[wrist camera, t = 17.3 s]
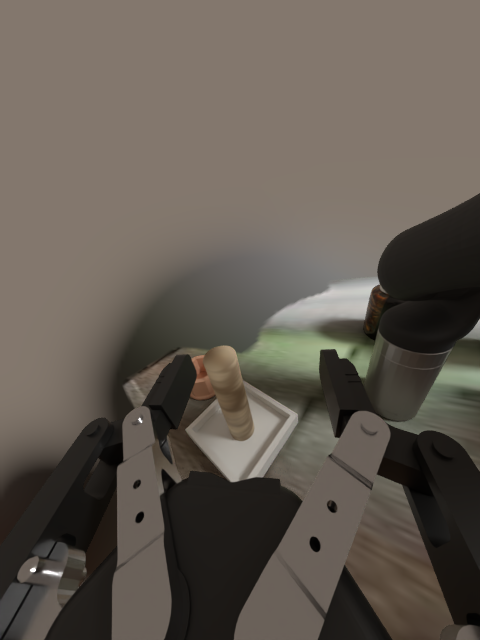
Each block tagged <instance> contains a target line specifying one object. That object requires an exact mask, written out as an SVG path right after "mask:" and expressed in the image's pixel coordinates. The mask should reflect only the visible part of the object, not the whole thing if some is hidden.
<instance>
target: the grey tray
mask: <svg viewBox="0 0 480 640" xmlns="http://www.w3.org/2000/svg"><path fill="white" fill-rule="evenodd" d="M243 383H244V387H245V391H246V395H247V399H248V403H249V407H250V411H251V415H252V419H253V423H254V432H253V434H252V436H251V437H250V438H249V439H247V440H245V441H237V440H235V439H234V438H233V437H232V435H231V433H230V431H229V428H228V425H227V423H226V420H225V418H224V415H223V413H222V410H221V408H220V405H219V403H218V400H217V399H216V400H215V401H214V402H213V403H212V404H211V405H210V406H209V407H208V408H207V409H206V410H205V411H204V412H203V413H202V414H201V415H200V416H199V417H198V418H197V419H196V420H195V421H194V422H193V423H191V424H190V425H189V426H188V427H187V428H186V429H185V431H186V432H187V434H188V435H189V437H190V438H191V439H192V440H193V442H194V443H195V444H196V445H197V446H198V447H199V448H200V450H201V451H202V452H203V453H204V454H205V455H206V456H207V458H208V459H209V460H210V461H211V462H212V463H213V464H214V466H215V467H216V468H217V469H218V470H219V471H220V472H221V474H222V475H223V476H224V477H225V478H226V479H227V480H228V481H230V482H236V481H241V480H245V479H249V478H254V477H262V478H263V476H264V475H265V473H266V472H267V470H268V468H269V467H270V465H271V464H272V462H273V461H274V459H275V457H276V456H277V454H278V453H279V451H280V450H281V448H282V447H283V445H284V443H285V442H286V440H287V439H288V437H289V436H290V434H291V433H292V431H293V429H294V428H295V426H296V425H297V423H298V414H297V413H295V412H293V411H292V410H290V409H289V408H287V407H285V406H284V405H282V404H281V403H279V402H277V401H276V400H274V399H273V398H271V397H269V396H268V395H266V394H265V393H263V392H261V391H260V390H258V389H257V388H255V387H253V386H252V385H250V384H249V383H247V382H245V381H244V380H243Z"/></svg>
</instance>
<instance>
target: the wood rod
mask: <svg viewBox="0 0 480 640" xmlns="http://www.w3.org/2000/svg"><path fill="white" fill-rule="evenodd" d="M203 364H204V367H205V369H206V372H207V374H208V377H209V380H210V382H211V385H212V387H213V390H214V392H215V395H216V397H217V400H218V403H219V405H220V408H221V410H222V413H223V415H224V418H225V420H226V423H227V425H228V428H229V431H230V433H231V435H232V437H233V438H234V439H235V440H237V441H245V440H247V439H249V438H250V437H251V436H252V434H253V432H254V423H253V419H252V415H251V411H250V407H249V403H248V399H247V395H246V391H245V387H244V383H243V379H242V375H241V371H240V367H239V363H238V360H237V356H236V352H235V350H234V349H233V348H232V347H229V346H218V347H215V348H212V349H211V350H209V351H208V352H207V353H206V354H205V356H204V358H203Z"/></svg>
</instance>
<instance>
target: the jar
mask: <svg viewBox="0 0 480 640" xmlns="http://www.w3.org/2000/svg"><path fill="white" fill-rule="evenodd" d="M405 302H407V301H402V300H399V299H395V298H393V297H392V296H390V295H389V294H387V293H386V292H385V291H384V289H383V288H382V287H381V285H377V286H375V287H374V288H373V289H372V292H371V295H370V298H369V303H368V307H367V312H366V317H365V322H364V328H363V329H364V332H365V333H366V335H367V336H369V337H370V338H372V339H373V340H376V336H377V332H378V328H379V324H380V320H381V317H382V315H383V314H384V313H385V312H386V311H387V310H388V309H390V308H392V307H394V306H397V305H399V304H402V303H405Z"/></svg>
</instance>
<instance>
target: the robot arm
mask: <svg viewBox="0 0 480 640" xmlns="http://www.w3.org/2000/svg"><path fill="white" fill-rule="evenodd" d="M377 273H378V279H379V282H380V285H381V287H382V288H383V289H384V291H385V292H386V293H387V294H389V295H390V296H392V297H393V298H395V299H399V300H402V301H407V302H405V303H402V304H399V305H397V306H394V307H392V308H390V309H388V310H387V311H386V312H385V313H384V314H383V315H382V317H381V320H380V324H379V328H378V332H377V336H376V340H375V344H374V348H373V352H372V356H371V359H370V363H369V367H368V371H367V375H366V378H365V382H364V386H363V384H362V383H361V379H360V377H359V376H358V373H357V371H356V368H355V366H354V365H353V364H352V363H351V362H350V361H349V360H348V359H347V358H346V359H339V357H338V354H337V352H336V350H335V349H328V350H321V351H320V365H319V373H320V379H321V383H322V387H323V391H324V396H325V400H326V404H327V408H328V412H329V416H330V420H331V424H332V428H333V432H334V436H335V437H337V438H340V439H339V440H338V442H337V444H336V446H335V448H334V450H333V452H332V453H331V454H330V455H329V456H328V457H327V458H326V460H325V462H324V463H323V465H322V467H321V469H320V471H319V473H318V474H317V476H316V478H315V480H314V482H313V484H312V485H311V487H310V489H309V491H308V493H307V495H306V497H305V498H304V500H303V501H302V500H301V499H300V498H299V497H298V496H297V495H296V494H294V493H293V492H292V491H290V490H289V489H287V488H285V487H283V486H281V484H280V479H273V478H262V477H254V478H249V479H245V480H241V481H236V482H230V481H228V480H225V479H223V478H221V477H219V476H217V475H215V474H212V473H208V472H197V471H190V474H189V478H187V479H184V480H182V479H181V476H180V474H179V472H178V470H177V467H176V464H175V460H174V455H173V451H172V447H171V443H170V439H169V436H168V432H169V430H170V429H178V426H179V423H180V421H181V418H182V415H183V413H184V410H185V408H186V405H187V402H188V400H189V397H190V395H191V392H192V389H193V387H194V384H195V381H196V378H197V372H196V369H195V366H194V364H193V362H192V359H191V357H190V355H188V354H187V355H176V356H175V358H174V360H173V362H172V363H169V364H168V365H167V366H166V367H165V368H164V369H163V370H162V372H161V373H160V375H159V378H158V379H157V380H156V383H155V384H154V386H153V387H152V389H151V391H150V392H149V394H148V396H147V398H146V399H145V401H144V403H143V404H142V406H141V407H138V408H135V409H134V410H132V411H131V412H130V413H129V414H128V415H127V416H126V418H124V419H121V420H118V421H114V422H111V423H110V422H109V421H108V420H107V419H106V418H98V419H96V420H94V421H92V422H91V423H89V424H88V425H87V426H86V427H85V428H84V429H83V430H82V432H81V433H80V435H79V436H78V437H77V439H76V440H75V442H74V443H73V444H72V446H71V447H70V449H69V450H68V451H67V453H66V454H65V456H64V457H63V459H62V460H61V461H60V463H59V464H58V466H57V467H56V469H55V470H54V471H53V473H52V474H51V475H50V477H49V478H48V480H47V481H46V482H45V484H44V485H43V487H42V488H41V489H40V491H39V492H38V494H37V495H36V497H35V498H34V499H33V501H32V502H31V504H30V505H29V506H28V508H27V509H26V511H25V512H24V513H23V515H22V516H21V518H20V519H19V521H18V522H17V523H16V525H15V526H14V528H13V529H12V530H11V532H10V533H9V534H8V536H7V537H6V539H5V540H4V541H3V543H2V544H1V546H0V640H392V638H391V637H390V635H389V634H388V632H387V630H386V629H385V627H384V626H383V624H382V623H381V621H380V619H379V618H378V616H377V615H376V613H375V612H374V610H373V608H372V607H371V605H370V604H369V602H368V601H367V599H366V598H365V596H364V594H363V593H362V591H361V590H360V588H359V587H358V585H357V583H356V582H355V580H354V579H353V577H352V576H351V574H350V572H349V571H348V569H347V568H346V566H345V565H344V564H345V561H346V559H347V556H348V553H349V551H350V548H351V545H352V542H353V540H354V537H355V534H356V531H357V529H358V526H359V523H360V521H361V518H362V515H363V512H364V510H365V507H366V504H367V501H368V499H369V496H370V493H371V490H372V487H373V483H374V480H375V477H376V474H377V475H380V476H382V477H385V478H387V479H390V480H392V481H394V482H397V483H399V484H402V486H403V489H404V491H405V494H406V497H407V499H408V502H409V505H410V507H411V510H412V513H413V515H414V518H415V521H416V523H417V526H418V529H419V531H420V534H421V537H422V539H423V542H424V544H425V547H426V550H427V552H428V555H429V558H430V560H431V563H432V566H433V568H434V571H435V574H436V576H437V579H438V582H439V584H440V587H441V590H442V592H443V595H444V598H445V600H446V603H447V606H448V608H449V611H450V613H451V616H452V619H453V621H454V624H453V625H448V626H446V627H445V628H444V629H443V630H442V632H441V634H440V640H480V472H479V470H478V469H477V467H476V466H475V464H474V462H473V461H472V459H471V458H470V456H469V455H468V453H467V452H466V451H465V449H464V448H463V447H462V446H461V445H460V444H459V443H458V442H456V441H455V440H454V439H452V438H450V437H449V436H447V435H445V434H442V433H440V432H436V431H423V432H421V433H420V434H419V435H417V434H413V433H410V432H407V431H404V430H401V429H398V428H395V427H393V426H391V425H389V424H387V423H386V422H385V421H384V420H383V419H382V418H380V417H379V416H378V415H377V414H379V415H381V416H382V417H385V418H387V419H390V420H394V421H407V420H410V419H412V418H413V417H415V415H416V414H417V412H418V410H419V408H420V407H421V405H422V403H423V401H424V400H425V398H426V396H427V394H428V392H429V390H430V389H431V387H432V385H433V383H434V381H435V380H436V378H437V376H438V374H439V372H440V371H441V369H442V367H443V365H444V363H445V361H446V359H447V357H448V356H449V354H450V352H451V350H452V348H453V347H454V345H455V343H456V341H457V340H459V339H461V338H463V337H464V336H466V335H467V334H468V333H469V332H470V331H471V330H472V329H473V328H474V326H475V325H476V324H477V322H478V321H479V319H480V193H479V194H478V195H476V196H474V197H473V198H471V199H469V200H467V201H465V202H464V203H462V204H460V205H458V206H456V207H455V208H452V209H450V210H448V211H446V212H444V213H442V214H440V215H438V216H436V217H434V218H431V219H429V220H427V221H425V222H423V223H421V224H419V225H416V226H414V227H412V228H410V229H407V230H405V231H404V232H402V233H400V234H399V235H397V236H396V237H395V238H394V239H393V240H392V241H391V242H390V243H389V244H388V246H387V247H386V249H385V250H384V252H383V254H382V256H381V258H380V261H379V264H378V271H377ZM376 413H377V414H376ZM97 458H99V459H100V462H99V464H98V466H97V467H96V469H95V471H94V473H93V474H92V476H91V478H90V480H89V481H88V483H87V485H86V487H85V488H84V490H83V485H84V481H85V479H86V477H87V476H88V474H89V472H90V471H91V469H92V467H93V466H94V464H95V462H96V460H97ZM116 487H117V527H118V528H117V532H118V533H117V536H118V537H117V538H118V539H117V542H118V545H117V546H116V548H115V549H114V550H113V551H112V552H111V553H110V554H109V555H108V556H107V557H106V559H105V560H104V561H103V562H102V563H101V564H100V565H99V566H98V567H97V568H96V570H95V571H94V572H93V573H92V574H91V575H90V576H89V577H88V578H87V580H86V581H85V582H84V583H83V581H84V579H85V576H86V568H85V561H86V557H85V554H86V551H87V549H88V547H89V544H90V543H91V541H92V539H93V536H94V534H95V532H96V530H97V528H98V526H99V523H100V521H101V519H102V517H103V515H104V512H105V511H106V509H107V506H108V504H109V502H110V500H111V498H112V496H113V493H114V491H115V489H116ZM82 583H83V584H82ZM81 584H82V585H81ZM80 585H81V586H80Z"/></svg>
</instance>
